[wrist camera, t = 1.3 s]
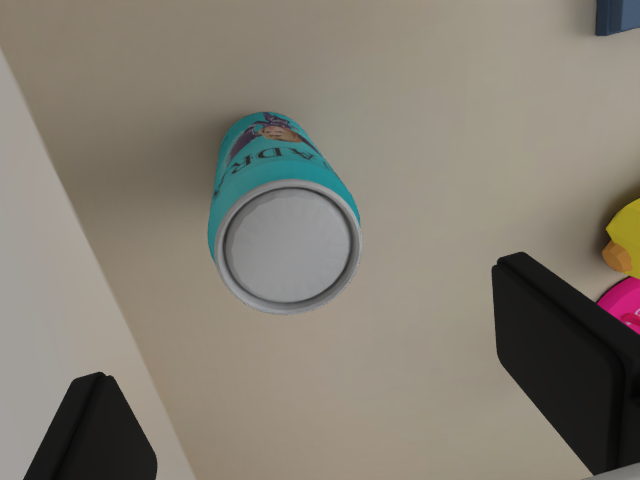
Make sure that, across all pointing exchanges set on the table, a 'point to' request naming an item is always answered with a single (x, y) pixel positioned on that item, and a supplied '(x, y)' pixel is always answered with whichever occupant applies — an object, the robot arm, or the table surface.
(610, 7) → the flat blue box
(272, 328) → the table surface
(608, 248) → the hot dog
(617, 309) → the figurine
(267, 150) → the beverage can
